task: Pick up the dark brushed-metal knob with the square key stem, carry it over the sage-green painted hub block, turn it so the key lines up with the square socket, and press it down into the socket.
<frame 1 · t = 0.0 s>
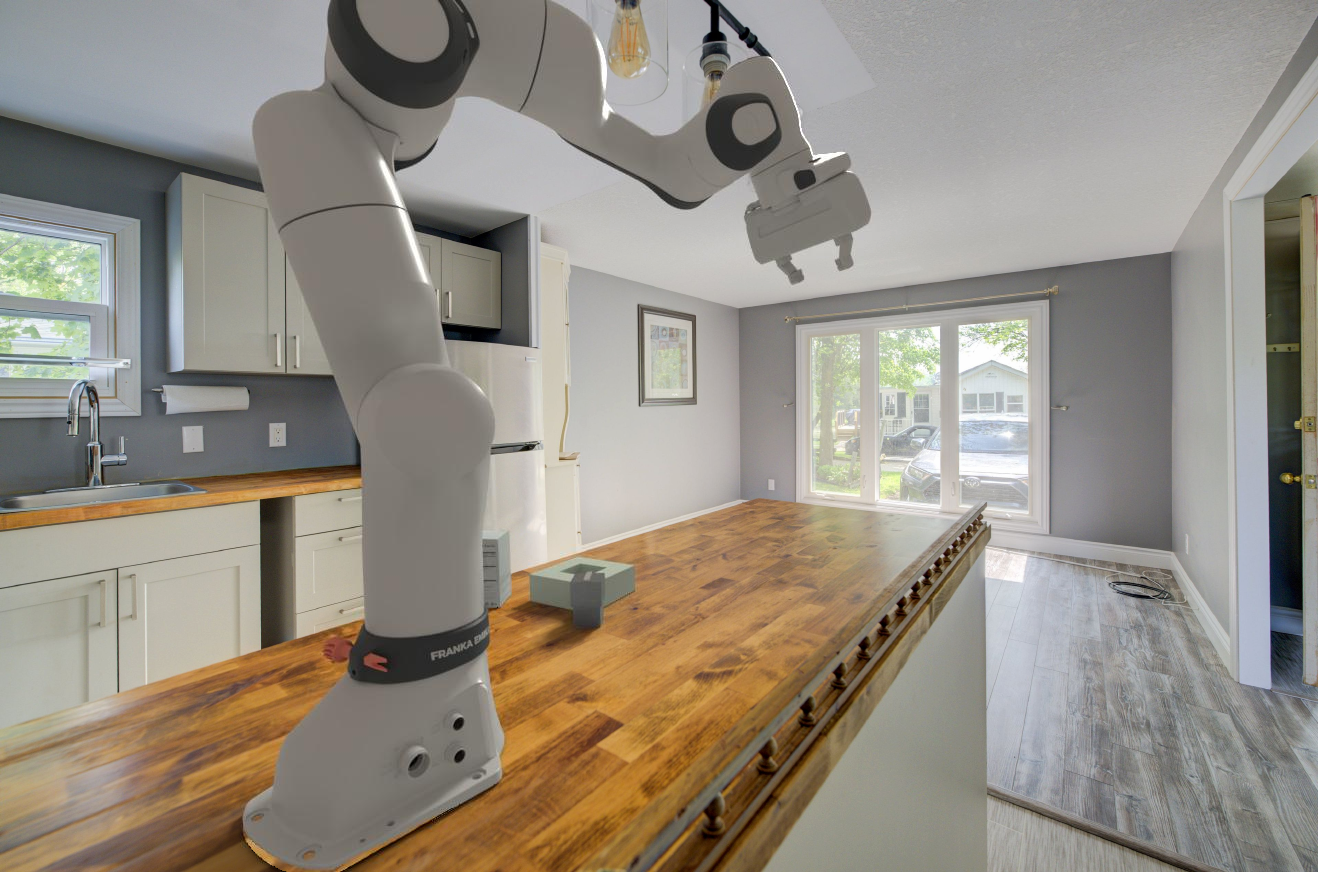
hand: (821, 275, 82), 54 cm above the worktop, tool tilted 30°, fingers open, 8 cm apart
knob: (588, 622, 91), on the worktop
supplement box: (486, 602, 102), on the worktop
hub: (583, 595, 104), on the worktop
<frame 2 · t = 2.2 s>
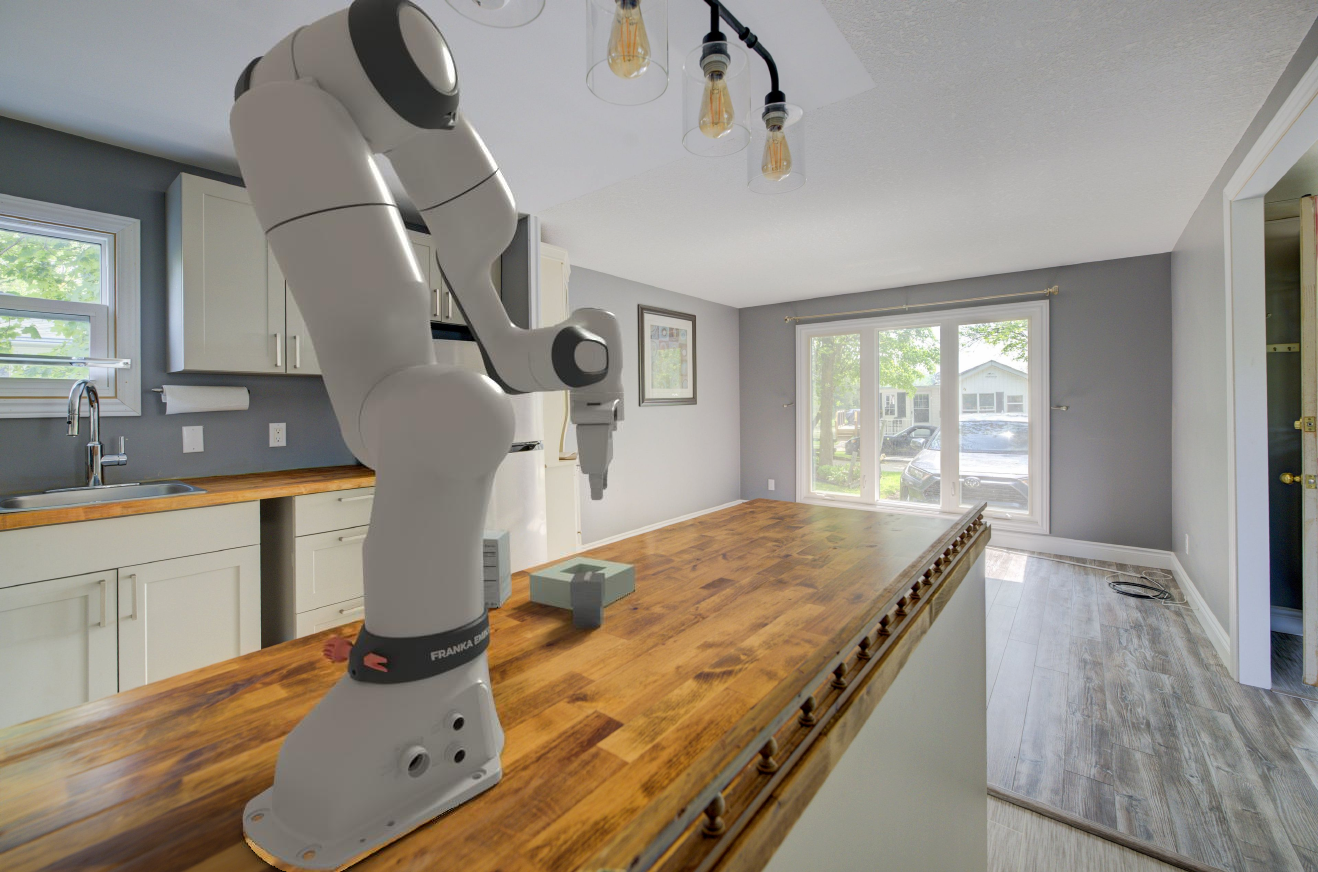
hand: (599, 494, 92), 21 cm above the worktop, tool pointing down, fingers open, 8 cm apart
nothing on the worktop moved.
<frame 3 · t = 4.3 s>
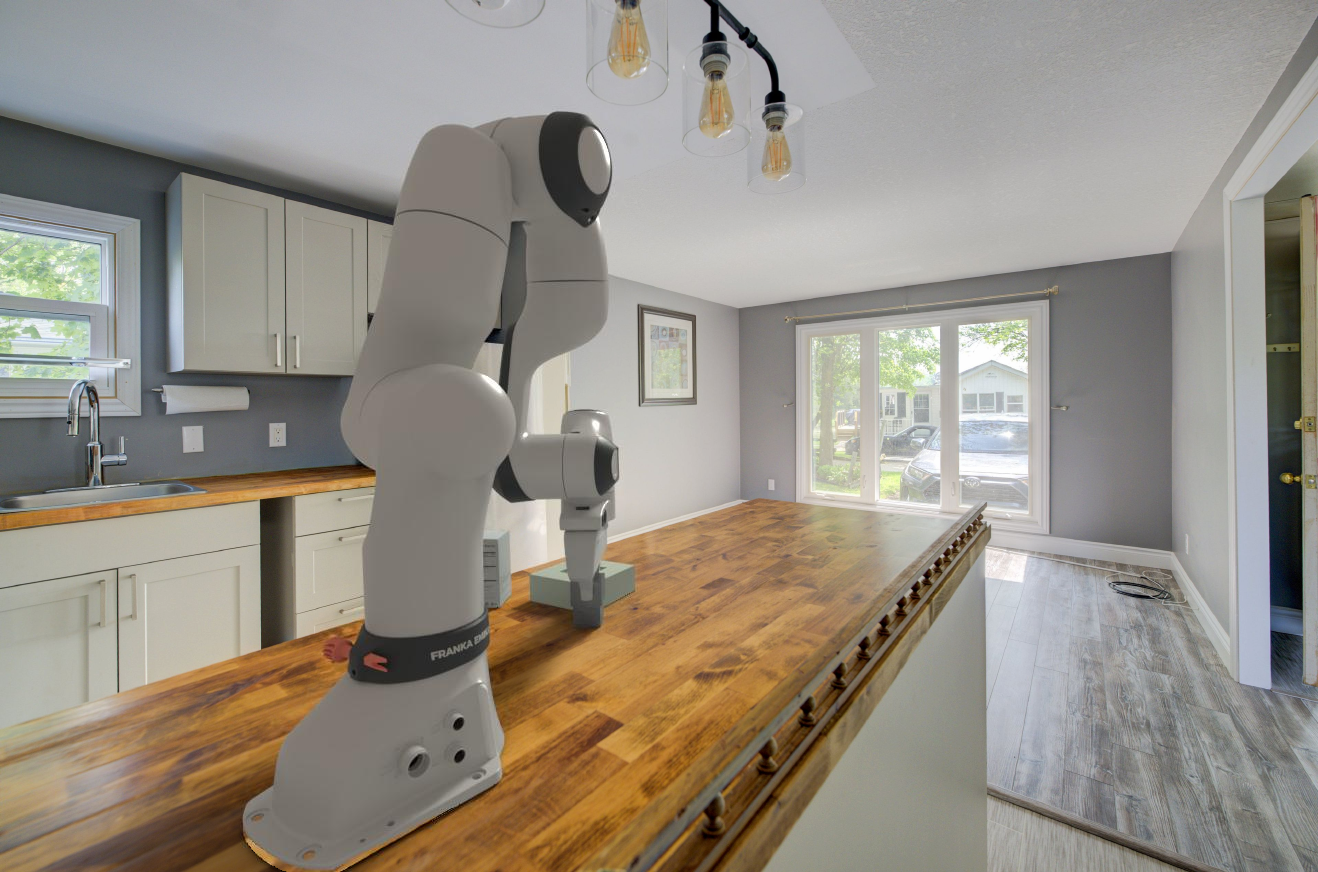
hand: (590, 591, 91), 5 cm above the worktop, tool pointing down, fingers open, 6 cm apart
knob: (588, 622, 91), on the worktop, touching gripper
everything else where it was.
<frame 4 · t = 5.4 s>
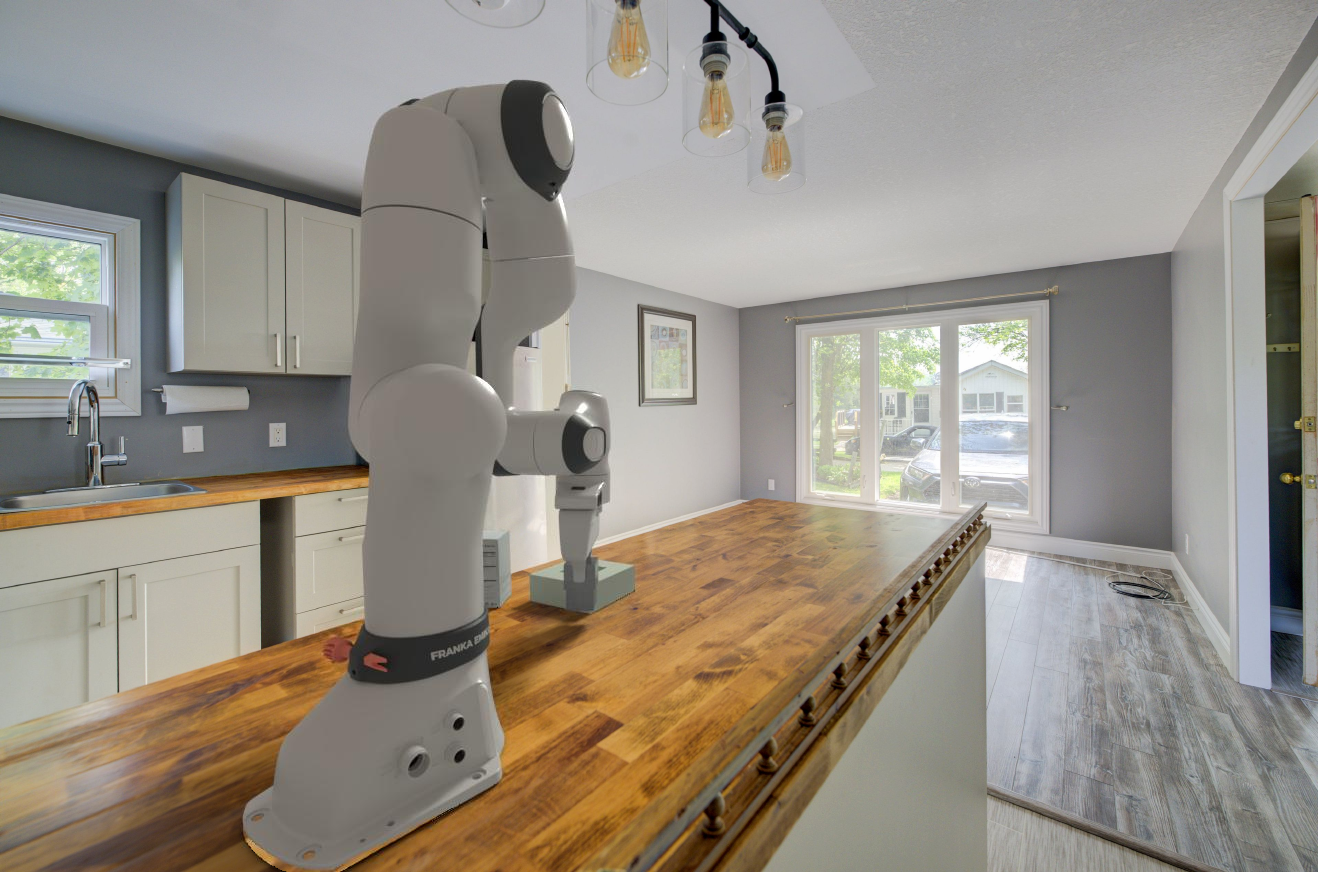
hand: (582, 575, 90), 8 cm above the worktop, tool pointing down, fingers closed on knob, 5 cm apart
knob: (581, 606, 90), point 3 cm above the worktop, touching gripper
everything else where it was.
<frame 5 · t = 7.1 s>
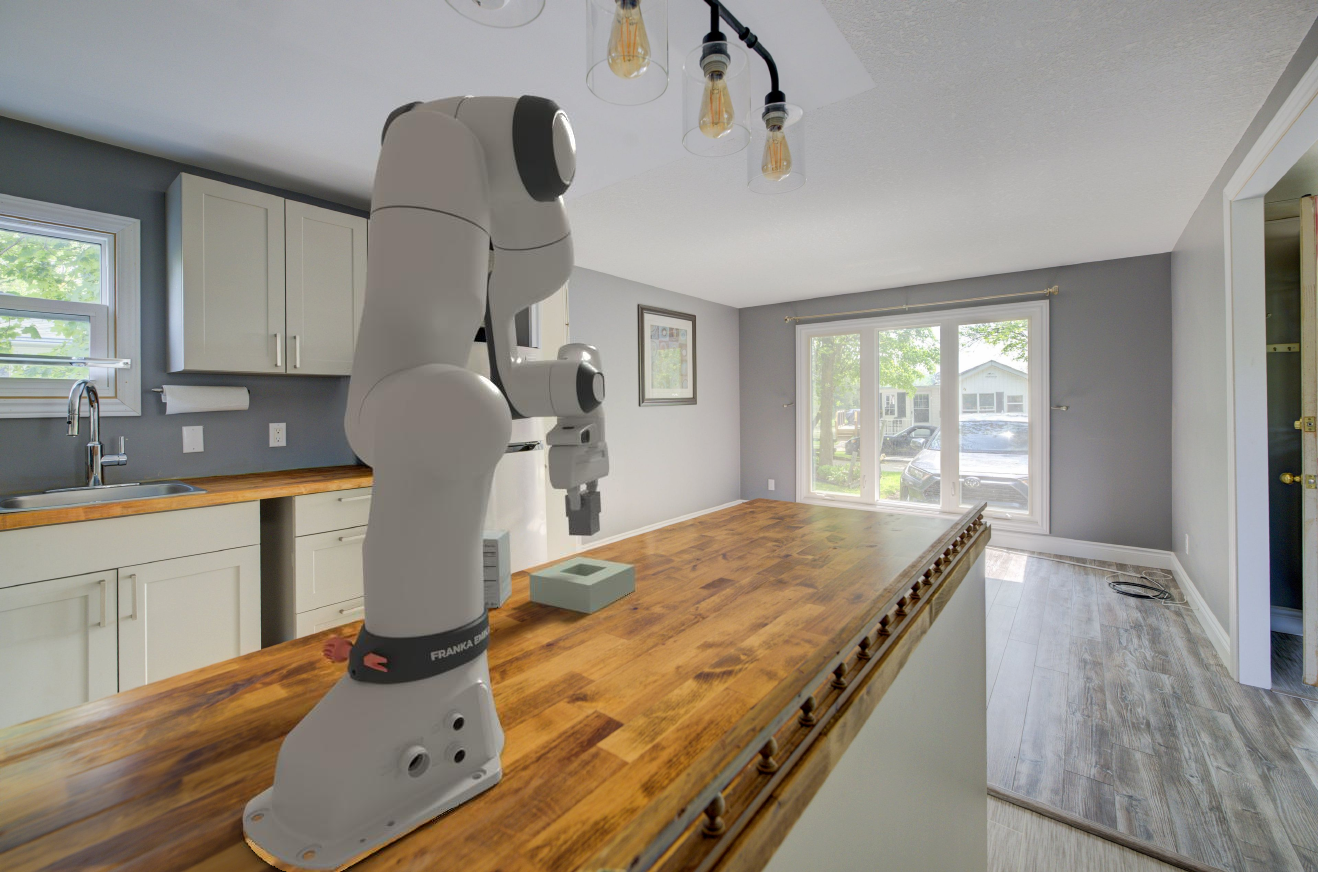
hand: (583, 506, 104), 17 cm above the worktop, tool pointing down, fingers closed on knob, 5 cm apart
knob: (584, 532, 104), point 12 cm above the worktop, touching gripper
everything else where it was.
when the fingers open (8 cm above the worktop, at t = 9.0 s): knob stays where it is, resting on hub.
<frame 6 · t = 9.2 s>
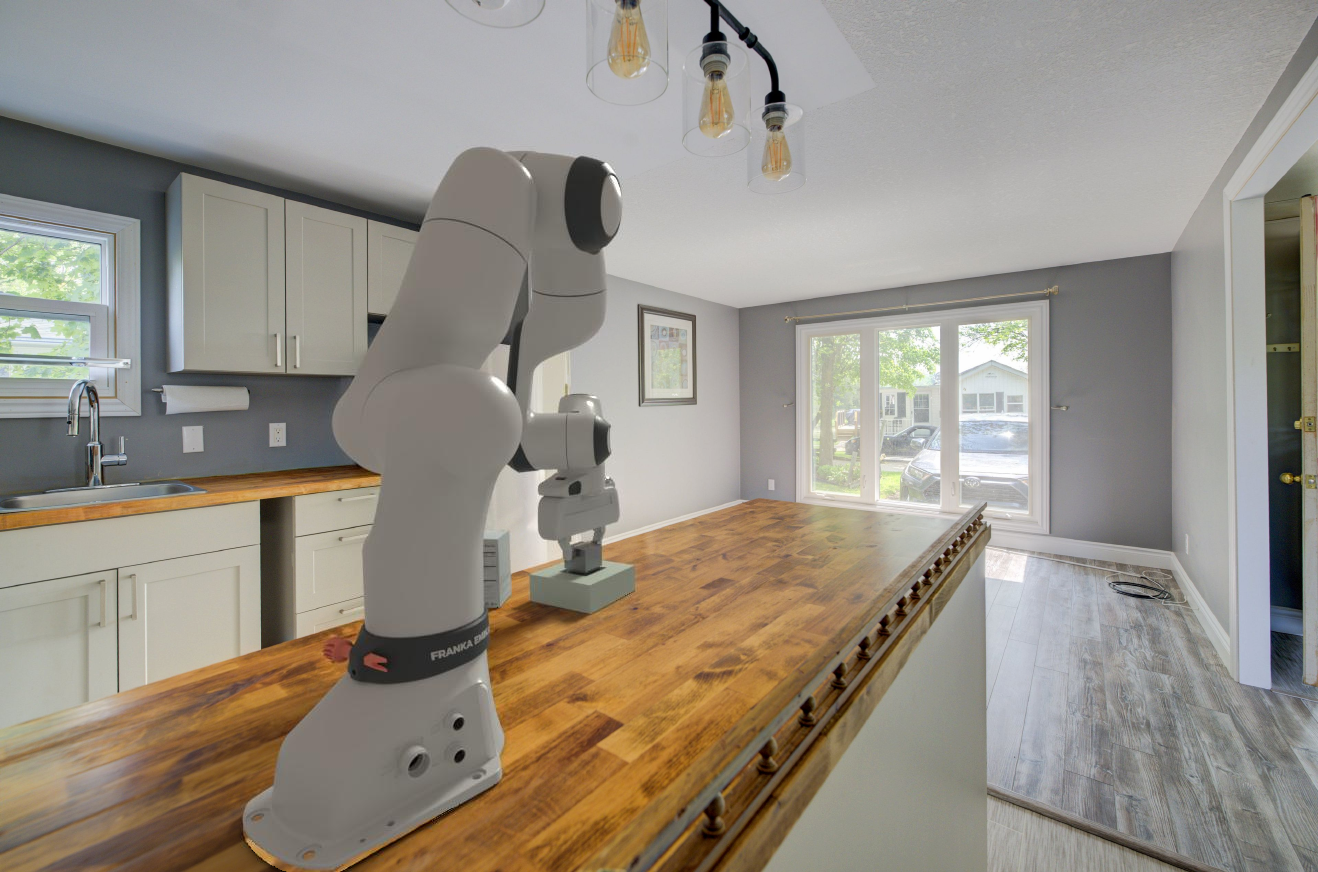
hand: (582, 554, 104), 8 cm above the worktop, tool pointing down, fingers open, 7 cm apart
knob: (583, 584, 104), point 2 cm above the worktop, touching hub
everything else where it was.
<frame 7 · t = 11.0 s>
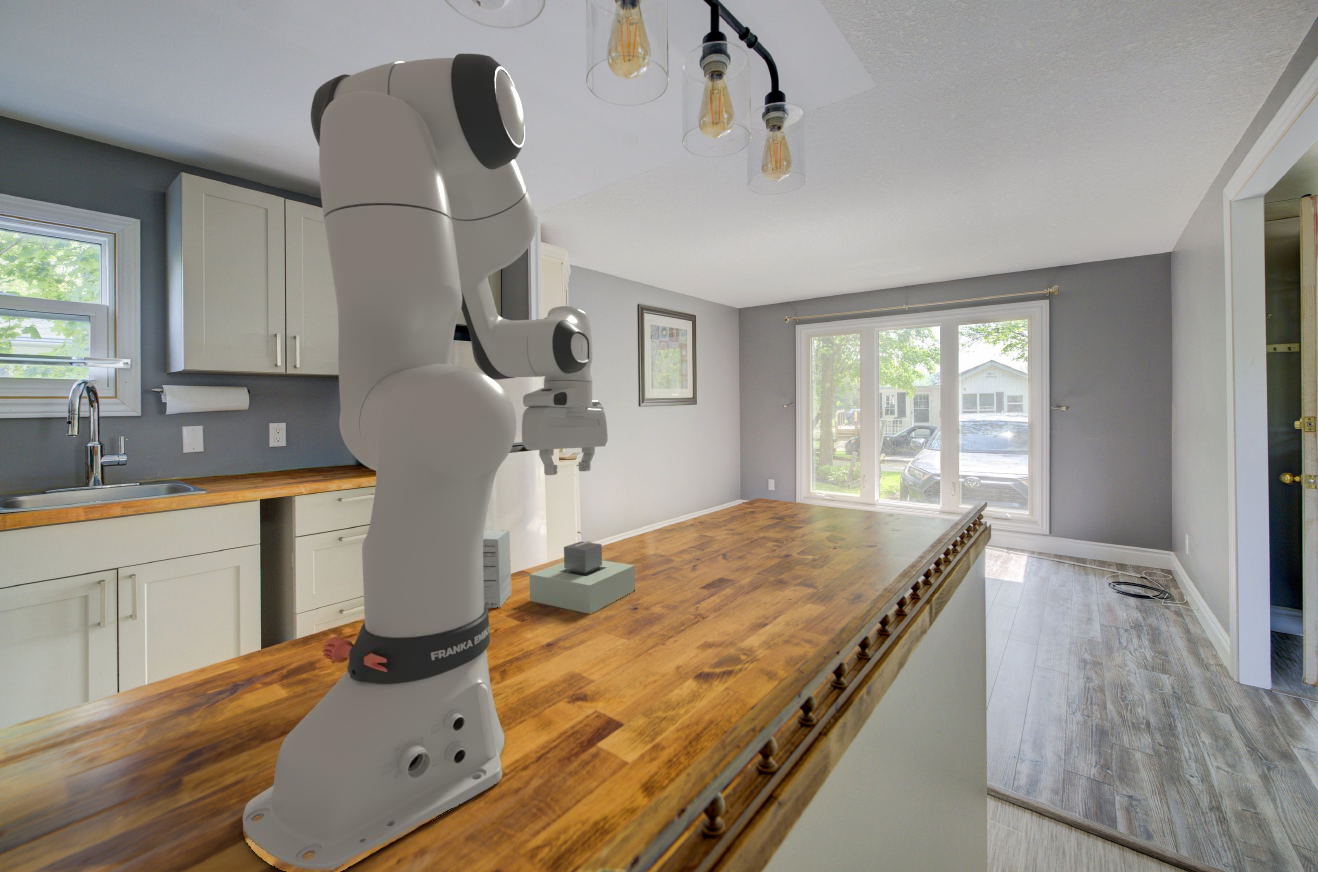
hand: (568, 473, 102), 23 cm above the worktop, tool pointing down, fingers open, 8 cm apart
nothing on the worktop moved.
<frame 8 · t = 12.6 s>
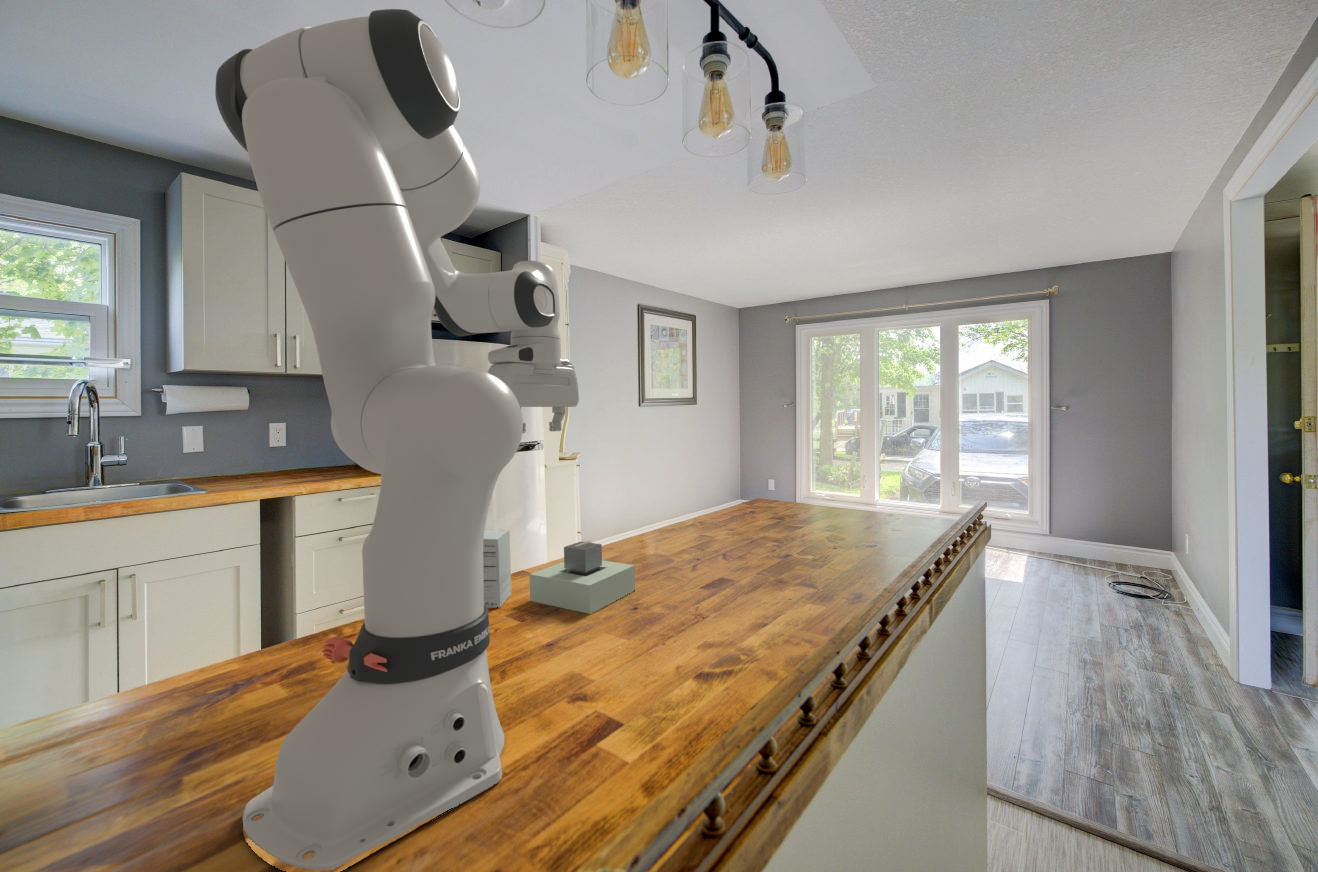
hand: (538, 432, 100), 31 cm above the worktop, tool pointing down, fingers open, 8 cm apart
nothing on the worktop moved.
at the end: knob 0.1 cm off-centre on the hub, point 2.1 cm above the hub's base; knob tilted 0°; the gripper is holding nothing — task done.
